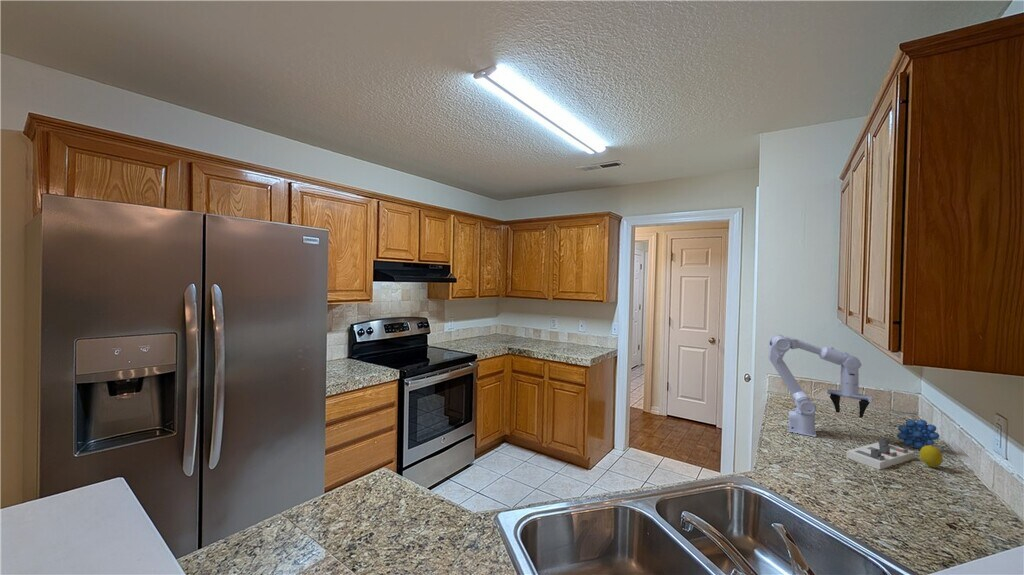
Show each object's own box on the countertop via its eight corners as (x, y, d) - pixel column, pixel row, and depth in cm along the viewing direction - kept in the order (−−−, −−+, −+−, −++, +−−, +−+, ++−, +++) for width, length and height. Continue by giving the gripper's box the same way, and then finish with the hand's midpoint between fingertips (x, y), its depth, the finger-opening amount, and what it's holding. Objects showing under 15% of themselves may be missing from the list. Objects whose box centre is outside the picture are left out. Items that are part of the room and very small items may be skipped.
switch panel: (879, 469, 134) (880, 459, 134) (846, 457, 143) (846, 448, 143) (914, 458, 142) (914, 449, 142) (880, 447, 151) (880, 438, 151)
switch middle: (886, 453, 140) (886, 446, 140) (879, 451, 142) (879, 444, 142) (889, 452, 141) (889, 445, 141) (883, 450, 143) (883, 443, 143)
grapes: (936, 449, 150) (936, 419, 150) (940, 455, 145) (941, 424, 145) (895, 441, 158) (895, 412, 158) (897, 446, 153) (898, 417, 152)
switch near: (877, 458, 136) (877, 451, 136) (870, 456, 138) (870, 449, 138) (881, 457, 137) (881, 450, 137) (874, 455, 139) (874, 447, 139)
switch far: (885, 446, 146) (885, 439, 146) (878, 444, 148) (878, 437, 148) (888, 445, 147) (888, 438, 147) (882, 443, 149) (882, 436, 149)
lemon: (947, 471, 133) (947, 448, 133) (931, 470, 133) (931, 448, 133) (930, 463, 138) (930, 442, 138) (915, 463, 138) (915, 441, 138)
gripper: (824, 380, 164) (824, 411, 164) (869, 388, 152) (869, 421, 152) (830, 378, 168) (830, 408, 168) (874, 385, 156) (874, 418, 156)
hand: (849, 414), depth 160 cm, fingers open, 7 cm apart
